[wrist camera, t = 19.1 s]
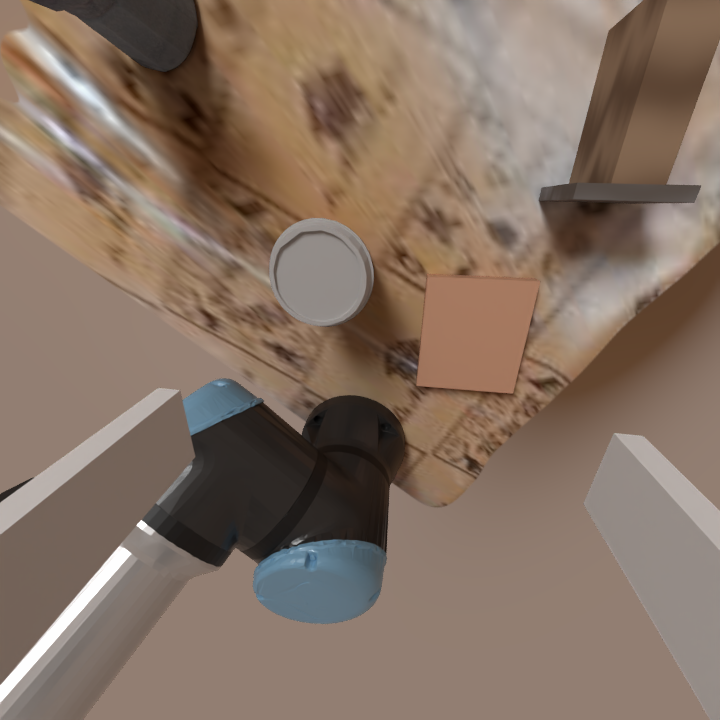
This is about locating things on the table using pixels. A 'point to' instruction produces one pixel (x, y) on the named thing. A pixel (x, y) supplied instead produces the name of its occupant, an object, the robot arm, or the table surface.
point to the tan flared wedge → (643, 105)
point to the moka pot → (139, 27)
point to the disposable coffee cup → (321, 272)
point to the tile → (474, 331)
